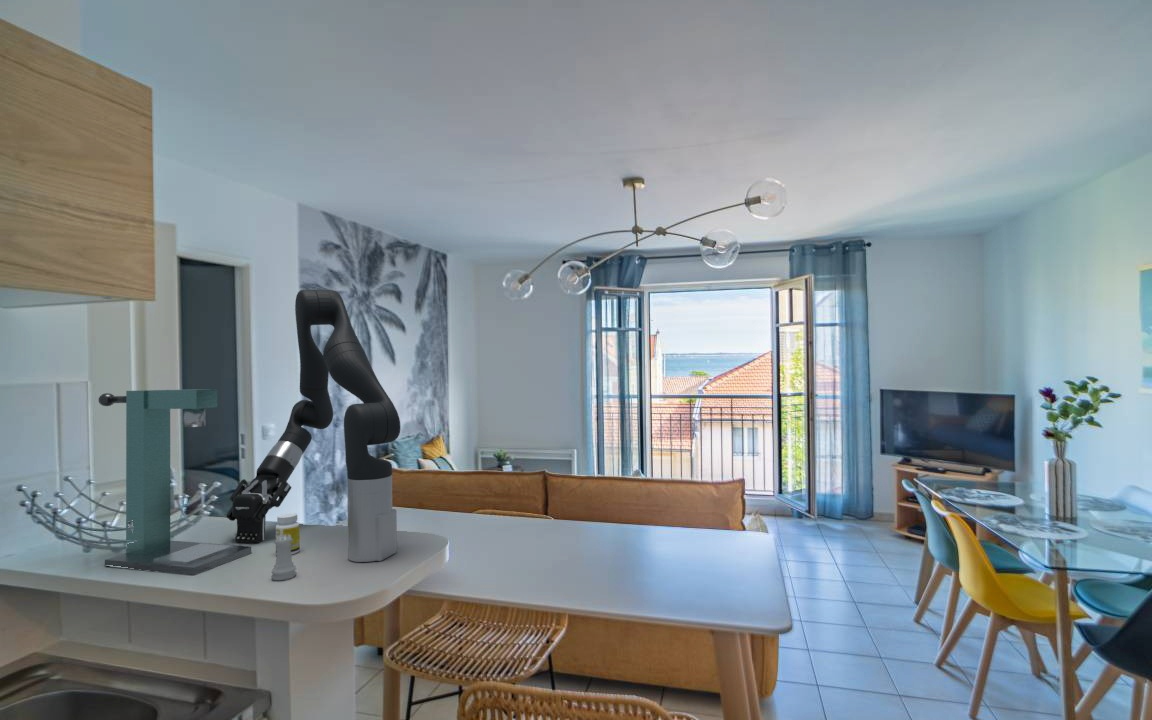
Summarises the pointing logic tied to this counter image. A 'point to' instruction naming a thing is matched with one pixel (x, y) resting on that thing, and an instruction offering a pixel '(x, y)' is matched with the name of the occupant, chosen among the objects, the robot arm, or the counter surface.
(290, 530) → the supplement bottle
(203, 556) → the arbor press
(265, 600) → the counter surface
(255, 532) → the battery
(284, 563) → the rook chess piece
